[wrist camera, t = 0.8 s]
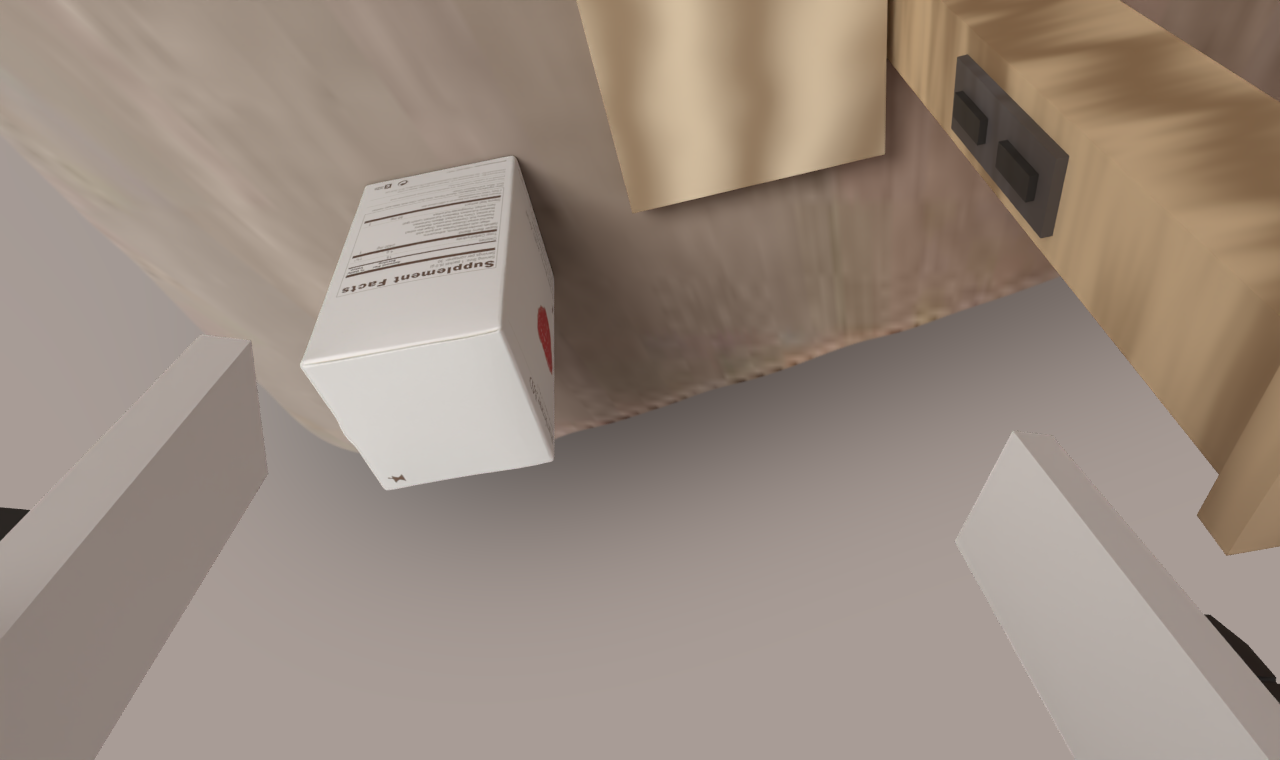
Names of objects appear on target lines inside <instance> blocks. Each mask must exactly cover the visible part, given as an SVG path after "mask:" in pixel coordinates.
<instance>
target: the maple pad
mask: <svg viewBox="0 0 1280 760" xmlns="http://www.w3.org/2000/svg"><path fill="white" fill-rule="evenodd" d="M576 1H577V5H578V8H579V12H580V16H581V20H582V24H583V27H584V31H585V35H586V39H587V42H588V46H589V50H590V54H591V58H592V61H593V65H594V69H595V73H596V77H597V80H598V84H599V88H600V92H601V96H602V99H603V103H604V107H605V111H606V115H607V118H608V122H609V126H610V130H611V133H612V137H613V141H614V145H615V149H616V152H617V156H618V160H619V164H620V168H621V171H622V175H623V179H624V183H625V187H626V190H627V194H628V198H629V202H630V205H631V209H632V213H637V212H642V211H646V210H650V209H654V208H659V207H663V206H667V205H671V204H676V203H680V202H684V201H688V200H693V199H697V198H701V197H705V196H710V195H714V194H718V193H722V192H726V191H731V190H735V189H739V188H743V187H748V186H752V185H756V184H760V183H765V182H769V181H773V180H777V179H782V178H786V177H790V176H794V175H799V174H803V173H807V172H811V171H816V170H820V169H824V168H828V167H833V166H837V165H841V164H845V163H850V162H854V161H858V160H862V159H867V158H871V157H875V156H879V155H884V154H885V118H886V60H887V2H888V0H576Z"/></svg>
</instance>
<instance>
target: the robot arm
mask: <svg viewBox="0 0 1280 760" xmlns="http://www.w3.org/2000/svg"><path fill="white" fill-rule="evenodd" d="M267 475H268V469H267V461H266V453H265V446H264V438H263V429H262V422H261V414H260V406H259V398H258V390H257V382H256V375H255V367H254V359H253V351H252V343H251V340H243V339H235V338H226V337H218V336H210V335H200V336H199V337H198V338H197V339H196V340H195V341H194V342H193V343H192V344H191V345H190V346H189V347H188V348H187V349H186V350H185V351H184V352H183V353H182V355H180V356H179V357H178V358H177V360H176V361H175V362H174V363H173V364H172V365H171V366H170V367H169V368H168V369H167V370H166V371H165V372H164V373H163V374H162V375H161V376H160V377H159V378H158V379H157V380H156V381H155V382H154V383H153V384H152V385H151V386H150V387H149V388H148V389H147V390H146V392H144V394H143V395H142V396H141V397H140V398H139V399H138V400H137V401H136V402H135V403H134V404H133V405H132V406H131V407H130V408H129V409H128V410H127V411H126V412H125V413H124V414H123V415H122V416H121V417H120V418H119V419H118V420H117V421H116V422H115V423H114V425H113V426H112V427H111V428H110V429H109V430H108V431H107V432H106V433H105V434H104V435H103V436H102V437H101V438H100V439H99V440H98V441H97V442H96V443H95V444H94V445H93V446H92V447H91V448H90V449H89V450H88V451H87V452H86V453H85V455H83V456H82V457H81V459H80V460H79V461H78V462H77V463H76V464H75V465H74V466H73V467H72V468H71V469H70V470H69V471H68V472H67V473H66V474H65V475H64V476H63V477H62V478H61V479H60V480H59V481H58V482H57V483H56V484H55V485H54V486H53V487H52V489H50V491H49V492H48V493H47V494H46V495H45V496H44V497H43V498H42V499H41V500H40V501H39V502H38V503H37V504H36V505H35V506H34V507H33V508H32V509H31V510H23V509H12V508H0V760H94V759H95V757H96V756H97V754H98V752H99V751H100V749H101V747H102V746H103V744H104V742H105V741H106V739H107V738H108V736H109V734H110V733H111V731H112V729H113V728H114V726H115V724H116V723H117V721H118V720H119V718H120V716H121V715H122V713H123V711H124V710H125V708H126V706H127V705H128V703H129V701H130V700H131V698H132V696H133V695H134V693H135V692H136V690H137V688H138V687H139V685H140V683H141V682H142V680H143V678H144V677H145V675H146V674H147V671H148V670H149V669H150V667H151V665H152V664H153V662H154V660H155V659H156V657H157V655H158V653H159V652H160V651H161V649H162V647H163V646H164V644H165V642H166V641H167V639H168V637H169V636H170V634H171V632H172V631H173V629H174V628H175V626H176V624H177V622H178V621H179V619H180V618H181V616H182V614H183V613H184V611H185V609H186V608H187V606H188V605H189V603H190V601H191V600H192V598H193V596H194V595H195V593H196V591H197V590H198V588H199V586H200V585H201V583H202V582H203V580H204V578H205V577H206V575H207V573H208V572H209V570H210V568H211V567H212V565H213V563H214V562H215V560H216V558H217V557H218V555H219V554H220V552H221V550H222V549H223V547H224V545H225V543H226V542H227V540H228V539H229V537H230V535H231V534H232V532H233V531H234V529H235V527H236V526H237V524H238V522H239V521H240V519H241V517H242V516H243V514H244V513H245V511H246V509H247V508H248V506H249V504H250V503H251V501H252V499H253V498H254V496H255V494H256V493H257V491H258V489H259V488H260V486H261V485H262V483H263V481H264V480H265V478H266V476H267ZM955 543H956V545H957V547H958V548H959V550H960V552H961V554H962V556H963V557H964V559H965V561H966V563H967V565H968V567H969V568H970V570H971V572H972V574H973V576H974V578H975V579H976V581H977V583H978V585H979V587H980V588H981V590H982V592H983V594H984V596H985V598H986V599H987V601H988V603H989V605H990V606H991V609H992V610H993V612H994V614H995V616H996V618H997V619H998V621H999V623H1000V625H1001V627H1002V629H1003V630H1004V632H1005V634H1006V636H1007V638H1008V640H1009V641H1010V643H1011V645H1012V647H1013V649H1014V650H1015V652H1016V654H1017V656H1018V658H1019V660H1020V661H1021V663H1022V665H1023V667H1024V669H1025V670H1026V672H1027V674H1028V676H1029V678H1030V680H1031V681H1032V683H1033V685H1034V687H1035V689H1036V691H1037V692H1038V694H1039V696H1040V698H1041V699H1042V701H1043V703H1044V705H1045V707H1046V709H1047V710H1048V712H1049V714H1050V716H1051V718H1052V720H1053V722H1054V723H1055V725H1056V727H1057V729H1058V731H1059V732H1060V734H1061V736H1062V738H1063V740H1064V741H1065V743H1066V745H1067V747H1068V749H1069V751H1070V752H1071V754H1072V756H1073V758H1074V760H1280V684H1277V683H1276V677H1275V676H1274V675H1273V673H1272V672H1271V671H1270V670H1269V669H1268V668H1267V666H1266V665H1265V664H1264V663H1263V662H1262V661H1261V660H1260V658H1259V657H1258V656H1257V655H1256V654H1255V653H1254V652H1253V650H1252V649H1251V648H1250V647H1249V646H1248V645H1247V644H1246V643H1245V642H1243V641H1242V640H1241V639H1240V638H1239V637H1237V636H1236V635H1235V634H1234V633H1232V632H1231V631H1230V630H1228V629H1227V628H1226V627H1225V626H1223V625H1222V624H1221V623H1220V622H1218V621H1217V620H1216V619H1215V618H1213V617H1212V616H1211V615H1205V614H1203V613H1202V612H1201V610H1199V608H1198V607H1197V606H1196V605H1195V603H1194V602H1193V601H1192V600H1191V599H1190V597H1189V596H1188V595H1187V594H1186V593H1185V592H1184V590H1183V589H1182V588H1181V587H1180V586H1179V584H1178V583H1177V582H1176V581H1175V580H1174V579H1173V577H1172V576H1171V575H1170V574H1169V573H1168V572H1167V570H1166V569H1165V568H1164V567H1163V566H1162V564H1161V563H1160V562H1159V561H1158V560H1157V559H1156V557H1155V556H1154V555H1153V554H1152V553H1151V551H1150V550H1149V549H1148V548H1147V547H1146V546H1145V544H1144V543H1143V542H1142V541H1141V540H1140V538H1138V536H1137V535H1136V534H1135V532H1134V531H1133V530H1132V529H1131V528H1130V527H1129V525H1128V524H1127V523H1126V522H1125V521H1124V520H1123V518H1122V517H1121V516H1120V515H1119V514H1118V512H1117V511H1116V510H1115V509H1114V508H1113V507H1112V505H1111V504H1110V503H1109V502H1108V501H1107V500H1106V498H1105V497H1104V496H1103V495H1102V494H1101V492H1100V491H1099V490H1098V489H1097V488H1096V486H1095V485H1094V484H1093V483H1092V482H1091V481H1090V479H1089V478H1088V477H1087V476H1086V475H1085V474H1084V472H1083V471H1082V470H1081V469H1080V468H1079V466H1078V465H1077V464H1076V463H1075V462H1074V460H1073V459H1072V458H1071V457H1070V456H1069V455H1068V453H1067V452H1066V451H1065V450H1064V449H1063V448H1062V447H1061V445H1060V444H1059V443H1058V442H1057V440H1056V439H1055V438H1054V437H1053V436H1052V435H1047V434H1038V433H1030V432H1021V431H1012V433H1011V435H1010V437H1009V439H1008V441H1007V443H1006V445H1005V446H1004V448H1003V450H1002V452H1001V454H1000V456H999V458H998V460H997V462H996V464H995V466H994V467H993V469H992V471H991V473H990V475H989V477H988V479H987V481H986V483H985V485H984V487H983V489H982V490H981V492H980V494H979V496H978V498H977V500H976V502H975V504H974V506H973V508H972V510H971V512H970V513H969V515H968V517H967V519H966V521H965V523H964V525H963V527H962V529H961V531H960V533H959V534H958V536H957V539H956V540H955Z"/></svg>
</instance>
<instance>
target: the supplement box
mask: <svg viewBox="0 0 1280 760" xmlns="http://www.w3.org/2000/svg"><path fill="white" fill-rule="evenodd" d="M300 366H301V369H302V370H303V371H304V373H305V374H306V376H307V377H308V379H309V380H310V381H311V383H312V384H313V386H314V387H315V389H316V390H317V392H318V393H319V394H320V396H321V397H322V399H323V400H324V402H325V403H326V405H327V406H328V408H329V409H330V410H331V412H332V413H333V415H334V416H335V418H336V419H337V421H338V422H339V425H340V428H341V430H342V432H343V433H344V435H345V436H346V437H347V439H348V440H349V441H350V442H351V443H352V444H353V445H354V446H355V447H356V448H357V450H358V451H359V453H360V454H361V455H362V457H363V458H364V460H365V461H366V463H367V464H368V466H369V467H370V469H371V470H372V472H373V473H374V475H375V476H376V478H377V479H378V481H379V482H380V484H381V485H382V486H383V488H384V489H385V490H392V489H398V488H403V487H408V486H413V485H418V484H424V483H429V482H435V481H440V480H446V479H452V478H458V477H464V476H470V475H476V474H482V473H489V472H496V471H502V470H510V469H517V468H522V467H527V466H532V465H537V464H542V463H546V462H551V461H552V460H554V277H553V273H552V270H551V266H550V263H549V260H548V256H547V253H546V250H545V247H544V243H543V240H542V237H541V234H540V231H539V227H538V224H537V221H536V218H535V214H534V211H533V208H532V205H531V202H530V198H529V195H528V192H527V189H526V186H525V183H524V179H523V176H522V173H521V170H520V167H519V164H518V161H517V159H516V157H514V156H508V157H503V158H498V159H493V160H488V161H483V162H478V163H473V164H468V165H463V166H459V167H454V168H449V169H444V170H439V171H434V172H429V173H425V174H420V175H415V176H410V177H405V178H400V179H395V180H390V181H385V182H380V183H376V184H371V185H367V186H366V187H365V190H364V192H363V195H362V198H361V201H360V204H359V206H358V209H357V212H356V215H355V217H354V220H353V223H352V225H351V228H350V231H349V234H348V237H347V239H346V242H345V245H344V248H343V250H342V253H341V256H340V259H339V261H338V264H337V267H336V270H335V272H334V275H333V278H332V281H331V283H330V286H329V289H328V292H327V294H326V297H325V300H324V303H323V305H322V308H321V311H320V314H319V316H318V319H317V322H316V325H315V327H314V330H313V333H312V335H311V338H310V341H309V343H308V346H307V349H306V351H305V354H304V357H303V359H302V361H301V363H300Z"/></svg>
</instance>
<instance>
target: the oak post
mask: <svg viewBox="0 0 1280 760" xmlns="http://www.w3.org/2000/svg"><path fill="white" fill-rule="evenodd" d="M887 58H888V60H889V61H890V62H891V64H892V65H893V66H894V67H895V69H896V70H897V71H898V72H899V74H900V75H901V76H902V77H903V79H904V80H905V81H906V82H907V84H908V85H909V86H910V87H911V89H912V90H913V91H914V92H915V94H916V95H917V96H918V97H919V99H920V100H921V101H922V102H923V104H924V105H925V106H926V107H927V109H928V110H929V111H930V112H931V114H932V115H933V116H934V118H935V119H936V120H937V121H938V123H939V124H940V125H941V126H942V128H943V129H944V130H945V131H946V133H947V134H948V135H949V136H950V138H951V139H952V140H953V141H954V143H955V144H956V145H957V146H958V148H959V149H960V150H961V151H962V153H963V154H964V155H965V156H966V158H967V159H968V160H969V161H970V163H971V164H972V165H973V166H974V168H975V169H976V170H977V171H978V173H979V174H980V175H981V177H982V178H983V179H984V180H985V182H986V183H987V184H988V185H989V187H990V188H991V189H992V190H993V192H994V193H995V194H996V195H997V197H998V198H999V199H1000V200H1001V202H1002V203H1003V204H1004V205H1005V207H1006V208H1007V209H1008V210H1009V212H1010V213H1011V214H1012V215H1013V217H1014V218H1015V219H1016V220H1017V222H1018V223H1019V224H1020V225H1021V227H1022V228H1023V229H1024V231H1025V232H1026V233H1027V234H1028V236H1029V237H1030V238H1031V239H1032V241H1033V242H1034V243H1035V244H1036V246H1037V247H1038V248H1039V249H1040V251H1041V252H1042V253H1043V254H1044V256H1045V257H1046V258H1047V259H1048V261H1049V262H1050V263H1051V264H1052V266H1053V267H1054V268H1055V269H1056V271H1057V272H1058V273H1059V274H1060V276H1061V277H1062V278H1063V279H1064V281H1065V282H1066V283H1067V284H1068V286H1069V287H1070V288H1071V289H1072V291H1073V292H1074V293H1075V294H1076V296H1077V297H1078V298H1079V300H1080V301H1081V302H1082V303H1083V305H1084V306H1085V307H1086V308H1087V310H1088V311H1089V312H1090V313H1091V315H1092V316H1093V317H1094V318H1095V320H1096V321H1097V322H1098V323H1099V325H1100V326H1101V327H1102V328H1103V330H1104V331H1105V332H1106V333H1107V334H1108V336H1109V337H1110V338H1111V340H1112V341H1113V342H1114V343H1115V345H1116V346H1117V347H1118V349H1119V350H1120V351H1121V352H1122V354H1123V355H1124V356H1125V357H1126V359H1127V360H1128V361H1129V362H1130V364H1131V365H1132V366H1133V367H1134V369H1135V370H1136V371H1137V372H1138V374H1139V375H1140V376H1141V377H1142V379H1143V380H1144V381H1145V382H1146V384H1147V385H1148V386H1149V387H1150V389H1151V390H1152V391H1153V392H1154V394H1155V395H1156V396H1157V397H1158V399H1159V400H1160V401H1161V403H1162V404H1163V405H1164V406H1165V407H1166V409H1167V410H1168V411H1169V413H1170V414H1171V415H1172V416H1173V418H1174V419H1175V420H1176V421H1177V422H1178V424H1179V425H1180V426H1181V428H1182V429H1183V430H1184V431H1185V433H1186V434H1187V435H1188V436H1189V438H1190V439H1191V440H1192V441H1193V442H1194V444H1195V445H1196V446H1197V448H1198V449H1199V450H1200V451H1201V453H1202V454H1203V455H1204V456H1205V458H1206V459H1207V460H1208V461H1209V463H1210V464H1211V465H1212V467H1213V468H1214V469H1215V470H1216V472H1217V473H1218V474H1219V476H1218V478H1217V480H1216V482H1215V483H1214V485H1213V487H1212V489H1211V490H1210V492H1209V494H1208V496H1207V498H1206V500H1205V501H1204V503H1203V505H1202V507H1201V509H1200V510H1199V512H1198V514H1197V516H1198V518H1199V519H1200V520H1201V522H1202V523H1203V524H1204V526H1205V527H1206V529H1207V530H1208V531H1209V533H1210V534H1211V535H1212V537H1213V538H1214V539H1215V541H1216V542H1217V544H1218V545H1219V546H1220V547H1221V549H1222V550H1223V552H1224V553H1225V554H1226V556H1228V555H1234V554H1239V553H1245V552H1251V551H1256V550H1262V549H1267V548H1273V547H1279V546H1280V102H1278V101H1277V100H1275V99H1274V98H1272V97H1271V96H1269V95H1267V94H1266V93H1264V92H1263V91H1261V90H1260V89H1258V88H1256V87H1255V86H1253V85H1252V84H1250V83H1248V82H1247V81H1245V80H1244V79H1242V78H1241V77H1239V76H1237V75H1236V74H1234V73H1233V72H1231V71H1230V70H1228V69H1226V68H1225V67H1223V66H1222V65H1220V64H1219V63H1217V62H1215V61H1214V60H1212V59H1211V58H1209V57H1208V56H1206V55H1204V54H1203V53H1201V52H1200V51H1198V50H1197V49H1195V48H1193V47H1192V46H1190V45H1189V44H1187V43H1186V42H1184V41H1182V40H1181V39H1179V38H1178V37H1176V36H1175V35H1173V34H1171V33H1170V32H1168V31H1167V30H1165V29H1164V28H1162V27H1160V26H1159V25H1157V24H1156V23H1154V22H1153V21H1151V20H1149V19H1148V18H1146V17H1145V16H1143V15H1142V14H1140V13H1138V12H1137V11H1135V10H1134V9H1132V8H1131V7H1129V6H1127V5H1126V4H1124V3H1123V2H1121V1H1120V0H888V2H887Z"/></svg>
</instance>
